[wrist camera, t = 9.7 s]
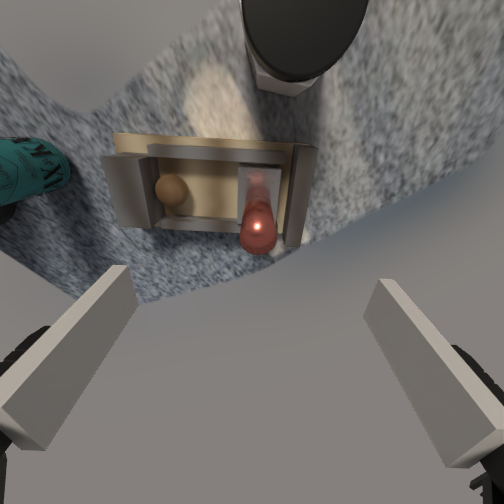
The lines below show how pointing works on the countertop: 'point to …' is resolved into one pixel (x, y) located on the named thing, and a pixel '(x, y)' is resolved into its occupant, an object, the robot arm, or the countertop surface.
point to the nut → (171, 190)
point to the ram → (257, 206)
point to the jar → (297, 39)
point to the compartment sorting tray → (204, 181)
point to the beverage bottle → (30, 169)
